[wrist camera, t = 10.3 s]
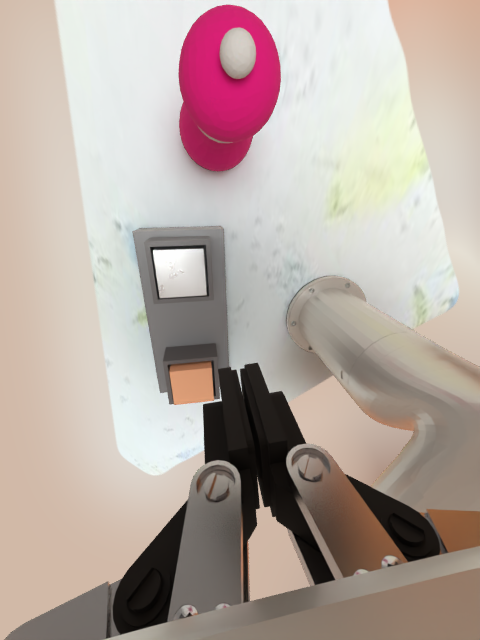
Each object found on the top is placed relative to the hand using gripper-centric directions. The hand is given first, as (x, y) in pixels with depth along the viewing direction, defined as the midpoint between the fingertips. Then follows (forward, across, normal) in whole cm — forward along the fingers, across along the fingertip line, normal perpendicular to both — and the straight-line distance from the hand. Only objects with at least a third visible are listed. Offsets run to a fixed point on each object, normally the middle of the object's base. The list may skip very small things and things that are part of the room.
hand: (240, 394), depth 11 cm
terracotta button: (+21, +4, +13) cm, 26 cm away
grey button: (+22, +3, -1) cm, 22 cm away
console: (+27, +4, +6) cm, 28 cm away
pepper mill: (+27, -2, -14) cm, 31 cm away
